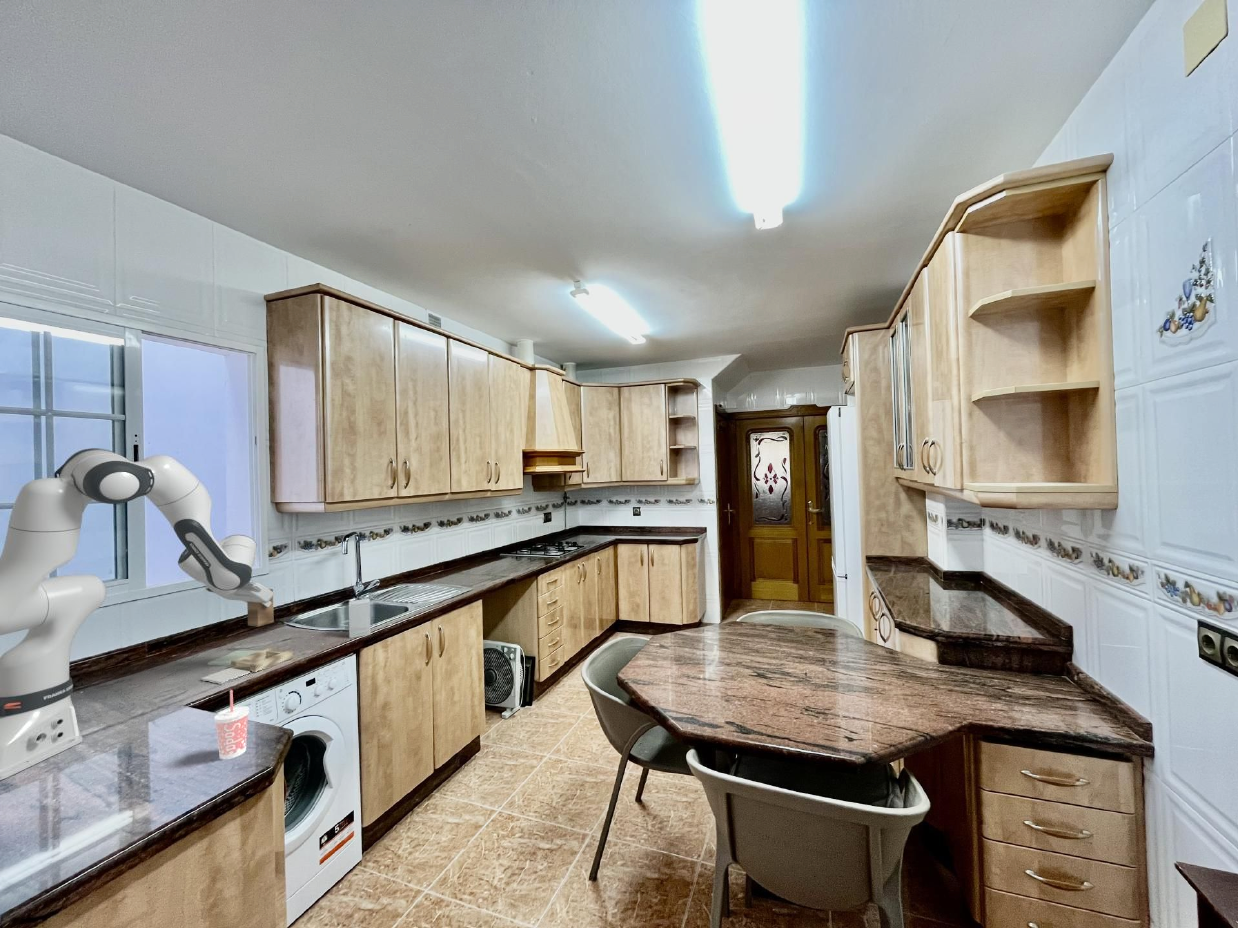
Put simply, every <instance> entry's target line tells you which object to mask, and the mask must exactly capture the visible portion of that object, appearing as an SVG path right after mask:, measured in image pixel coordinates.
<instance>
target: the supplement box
mask: <svg viewBox="0 0 1238 928" xmlns="http://www.w3.org/2000/svg"><path fill="white" fill-rule="evenodd" d="M348 635H349V636H348V638H349V639H352V638H358V637H363V636H364V637H365V636H370V635H371V600H370V598H364V599H363V598H362V599H357V600H356V599H355V600H350V601H348Z"/></svg>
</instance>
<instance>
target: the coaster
mask: <svg viewBox="0 0 1238 928" xmlns="http://www.w3.org/2000/svg"><path fill="white" fill-rule="evenodd" d="M259 651H260V650H236V651H232V652H231V653H229V654H226V655H223V656H221V657H218V658H216V659H214V660H211V661H209V662H207V665H208V666H231V661H233V660H236V659H239V658H242V657H245V656H248V655H250V654H253V653H256V652H259Z"/></svg>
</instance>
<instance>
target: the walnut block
mask: <svg viewBox="0 0 1238 928" xmlns="http://www.w3.org/2000/svg"><path fill="white" fill-rule="evenodd" d="M268 589H269V590H271V591H272V592H273V593H274V589H273V588H268ZM269 601H271V602H272V603H271V605H270V606H269V607H265V606H263V605H262V603H260V602H249V601H247V626H250V627H256V628H257V627H261V626H262V627H263V626H266V625H268V624H272V623H274V622H275V621H274V615H275V614H274V596H273V597H272V598H271V599H270V600H269Z"/></svg>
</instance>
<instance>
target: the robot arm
mask: <svg viewBox="0 0 1238 928" xmlns="http://www.w3.org/2000/svg"><path fill="white" fill-rule="evenodd" d="M144 496H145V497H146V498H147V499H148V500H149V501H150V502H151V503H152V504H153V505H154V506H155V507H156V508H157V510H158V511H160V513H161V514H162V515H163V516H164V518H165V519H166V520H167V521H168V523H169V524H170V526H171V528H172V529H173V531H174V533H175V535H176V536H177V538H178V539H179V540H180V543H182V545H183V546H184V547H185V549H184V550H183V552H181V554H180V555H179V557H178V560H177V565H178V567H179V568H180V569H181V570H182V572H184V573H185V574H186V575H188V576H189V577H191V578H192V579H194V580H195V581H196V582H200V583H203V584H204V585H205V587H204V590H205V591H207V592H209V593H214V594H216V595H218V596H220V597H222V598H224V599H226V600H228V601H239V602H240V601H241V602H244V603H247V601H249V602H260V603H262V605H263V606H265V607H269V606H270V605H271V603H272V602H271V601H269V600H270V599H271V598H272V597H273V598H274V595H275V594H274V591H273V592H272V591H271V590H269V589H270V588H268V587H266V586H265V585H263V584H261V583H260V582H256V581H253V580H252V576H253V575H252V574H253V566H254V562H255V558H256V554H257V548H258V544H257V542H256V541H255V539H253V538H252V537H249V536H247V535H244V534H233V535H229V536H227V537H225V538H222V539H220V540H216V538H215V537H214V535H213V532H212V531H213V530H212V528H211V514H212V513H211V512H212V498H211V496H210V494H209V492H208V489H207V488H206V486H205V485H204V484H203V483H202V482H201V481H200V480H199V479H198V478H197V477H196V476H195V475H194V474H193V473H192V472H191V471H190V470H189V469H188V468H186V467H185V466H184V465H183V464H182V463H181V462H179V461H178V460H176V459H175V458H174V457H171V456H169V455H166V454H156V455H151V456H147V457H146V458H143V459H142V460H138V461H131V460H129V459H127V458H126V457H124V456H122V455H120V454H118V453H116V452H114V451H112V450H109V449H104V448H95V447H94V448H93V447H92V448H90V447H89V448H85V449H81V450H78V451H76V452H75V453H74V454H72V455H70V456H69V457H68V458H67V459H66V461H65V462H64V463H63V464H62V465H61V466H60V467H59V468H58V469H56V471H54V474H53V477H44V478H38V479H34V480H31V481H29V482H27V483H25V484H23V486H22V487H21V488H20V490H19V492H18V494H17V497H16V499H15V502H14V504H13V507H12V510H11V513H10V515H9V516H10V517H9V521H8V526H7V530H6V536H5V541H4V544H3V545H4V546H3V549H2V551H1V555H0V636H3V635H7V634H11V633H17V632H21V631H25V630H28V631H27V634H26V635H25V637H24V638H23V639H22V640H21V641H20V642H19V643H17V644H16V645H15V646H13V647H12V648H10V649H9V650H7V651H5V652H4V653H3V654H2V655H1V656H0V781H2V780H4V779H7V778H9V777H11V776H13V775H15V774H18V773H20V772H22V771H24V770H26V769H28V768H30V767H32V766H35V765H36V764H38V763H41V762H43V761H44V760H47V759H49V758H51V757H53V756H56V755H57V754H60V753H62V752H64V751H66V750H68V749H70V748H72V747H74V746H77V745H78V744H81V743H83V741H84V740H83V738H84V737H83V736H82V732H81V730H80V727H79V725H78V721H77V714H76V709H75V707H74V704H73V701H72V698H71V695H72V693H74V690H73V688H74V684H73V678H72V677H71V676H70V658H71V657H70V656H71V648H72V643H73V641H74V638H75V636H76V635H77V633H78V631H79V629H80V628H81V626H82V624H83V623H84V622H85V621H86V620H87V619H88V618H89V617H90V616H91V615H92V614H93V613H94V612H95V611H97V610H98V609H99V608H100V607H101V606H102V605H103V604H104V602H105V600H106V596H107V587H106V584H105V583H104V582H103V580H101V579H100V577H98V576H96V575H93V574H65V575H60V576H59V575H58V576H54V577H48V576H49V575H50V574H51V573H52V572H54V571H56V570H57V569H59V568H60V567H63V566H65V565H66V564H68V563H69V562H70V561H72V559H73V558H74V557H75V555H76V554H77V550H78V544H79V538H80V533H81V526H82V521H83V514H84V511H85V510H86V508H87V507H88V505H89V504H90V503H91V502H93V501H96V502H97V503H102V504H106V505H119V504H125V503H128V502H130V501H133V500H136V499H137V498H141V497H144ZM251 580H252V581H251Z"/></svg>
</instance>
